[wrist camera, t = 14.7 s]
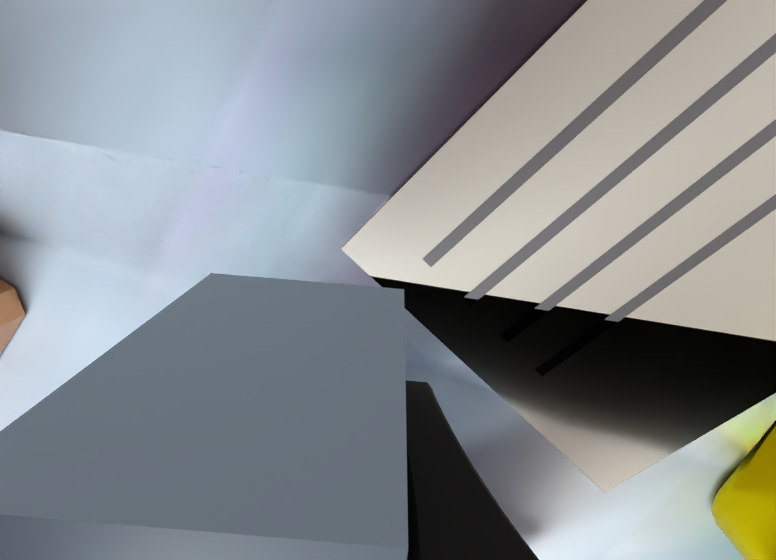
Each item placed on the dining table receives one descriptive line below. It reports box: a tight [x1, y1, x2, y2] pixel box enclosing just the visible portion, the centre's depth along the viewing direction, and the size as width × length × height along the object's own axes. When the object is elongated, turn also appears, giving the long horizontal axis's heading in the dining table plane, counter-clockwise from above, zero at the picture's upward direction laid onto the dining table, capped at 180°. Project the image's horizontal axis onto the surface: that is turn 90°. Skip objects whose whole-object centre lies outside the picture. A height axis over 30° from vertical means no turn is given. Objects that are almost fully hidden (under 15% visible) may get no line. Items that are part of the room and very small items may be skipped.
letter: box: [341, 0, 776, 493], centre depth 14 cm, size 24×18×1 cm
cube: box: [0, 273, 408, 560], centre depth 7 cm, size 4×4×6 cm
